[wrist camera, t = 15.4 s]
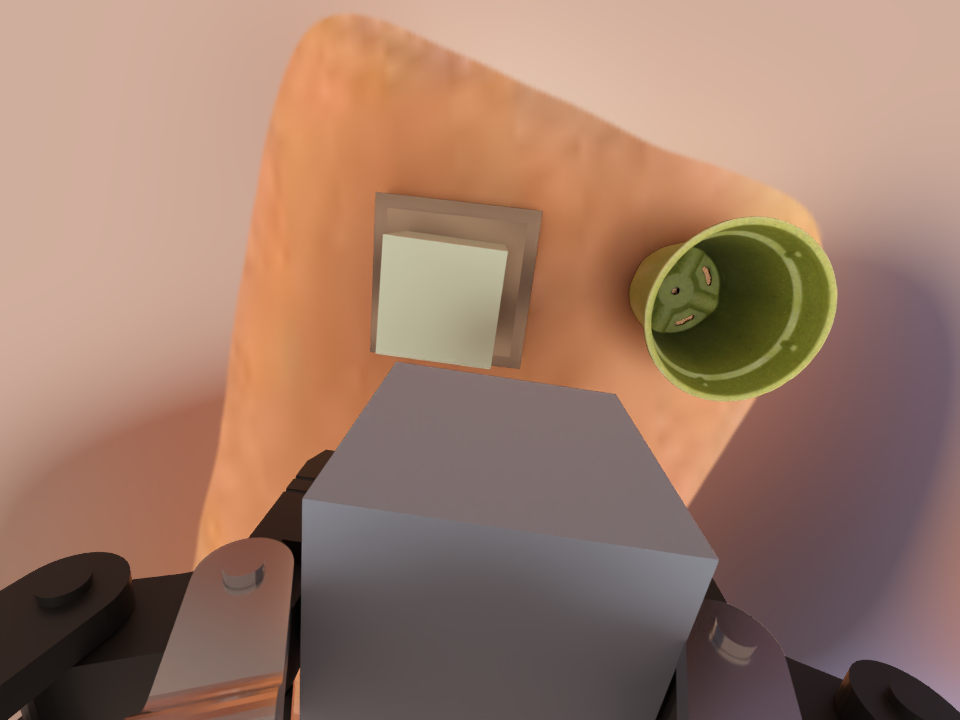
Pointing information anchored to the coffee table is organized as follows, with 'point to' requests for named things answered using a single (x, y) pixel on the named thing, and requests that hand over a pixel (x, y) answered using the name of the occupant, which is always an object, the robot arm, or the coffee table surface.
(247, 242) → the coffee table surface
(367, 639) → the slate block
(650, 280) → the plant pot
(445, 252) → the sage block
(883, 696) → the robot arm
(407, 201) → the walnut square pad
